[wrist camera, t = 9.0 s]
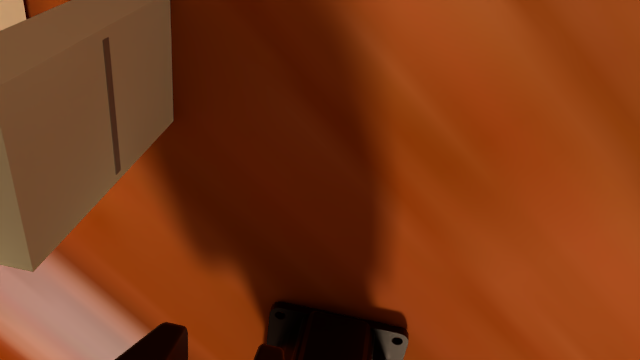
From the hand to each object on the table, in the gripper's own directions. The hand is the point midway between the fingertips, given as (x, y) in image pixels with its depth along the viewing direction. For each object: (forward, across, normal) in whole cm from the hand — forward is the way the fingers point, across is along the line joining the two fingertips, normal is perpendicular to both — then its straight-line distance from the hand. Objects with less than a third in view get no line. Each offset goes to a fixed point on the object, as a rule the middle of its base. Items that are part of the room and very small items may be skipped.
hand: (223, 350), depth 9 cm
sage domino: (+12, +7, 0) cm, 14 cm away
